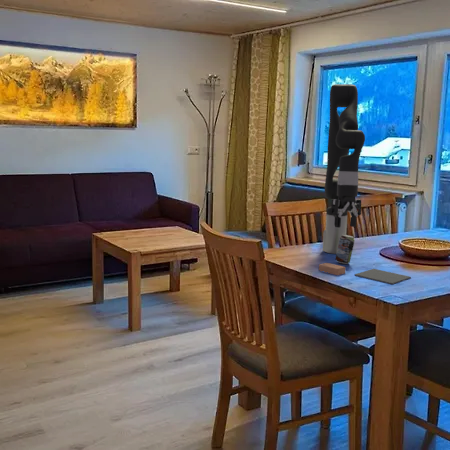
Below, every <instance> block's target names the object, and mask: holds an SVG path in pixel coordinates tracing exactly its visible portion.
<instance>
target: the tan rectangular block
mask: <svg viewBox="0 0 450 450" xmlns="http://www.w3.org/2000/svg"><path fill="white" fill-rule="evenodd" d="M319 270H320V271H319ZM318 271H319V272H322V271H324V272H323V273H327V272H328V274H331V275H335V276H339V275H344V274H346V266H342V265H340V264H339V265H338V264H335V263H330V262H325V263H320V264H318Z"/></svg>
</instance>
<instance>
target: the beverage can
mask: <svg viewBox="0 0 450 450" xmlns="http://www.w3.org/2000/svg"><path fill="white" fill-rule="evenodd" d="M354 244H355V238H354V236H353V235H348V234H346V235H342V236H341V237H340V240H339V245H338V249H337V254H335V260H336V262H337V263H340V264H342V265H347V264H349V263H351V260H352V259H351V258H352V253H353V249H354Z"/></svg>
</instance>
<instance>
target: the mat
mask: <svg viewBox="0 0 450 450" xmlns="http://www.w3.org/2000/svg"><path fill="white" fill-rule="evenodd" d="M354 276H355V277H359V278H363V279H368V280H371V281H377V282H380V283H385V284H388V285H395V284H399V283H402V282H404V281H407V280H409V279H412V277H411V276H408V275H404V274H399V273H395V272H390V271H386V270H381V269H377V268H372V269H371V268H370V269H368V270H365V271H361V272H358V273H355V274H354Z"/></svg>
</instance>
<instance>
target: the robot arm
mask: <svg viewBox="0 0 450 450" xmlns="http://www.w3.org/2000/svg"><path fill="white" fill-rule="evenodd" d="M329 91H330V92H329V125H328V138H327V161H326V173H325V174H326V175H325V182H324V196H325V199H327V200H331V206H328V207H327V208H326V216H325V220H326V221H325V229H324V230H323V234H322V235H323V236H322V252H325V253H328V254H333V255H336V254H337V249H338V245H339V240H340V237H341V236H342V235H347V226H348V213H349V214H350V220H349V221H350V222H349V223H350V224H349V225H350V227H352V228H355V227H357V221H358V220H357V218H358V217H359V216H361V215H362V199H358V198H357V197H358V194H359V193H358V192H359V191H358V190H359V165H360V164H359V163H360V157H361V153H362V150H363V147H364V144H365V141H366V135H365V134H364V131H363V130H359V122H358V116H357V115H358V105H359V104H358V103H359V102H358V101H359V100H358V99H359V93H358V88H357V85H355V84H349V83H348V84H345V83H344V84H339V83H337V84H332V85H331V86H330V90H329ZM338 108H344V109H343V110H342V111H341V113H340V114H339V112H338ZM350 150H353V152H352V153H351V154H349V153H350ZM337 170H338V176H337V178H334V176H335V174H336V171H337ZM356 198H357V199H356Z"/></svg>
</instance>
